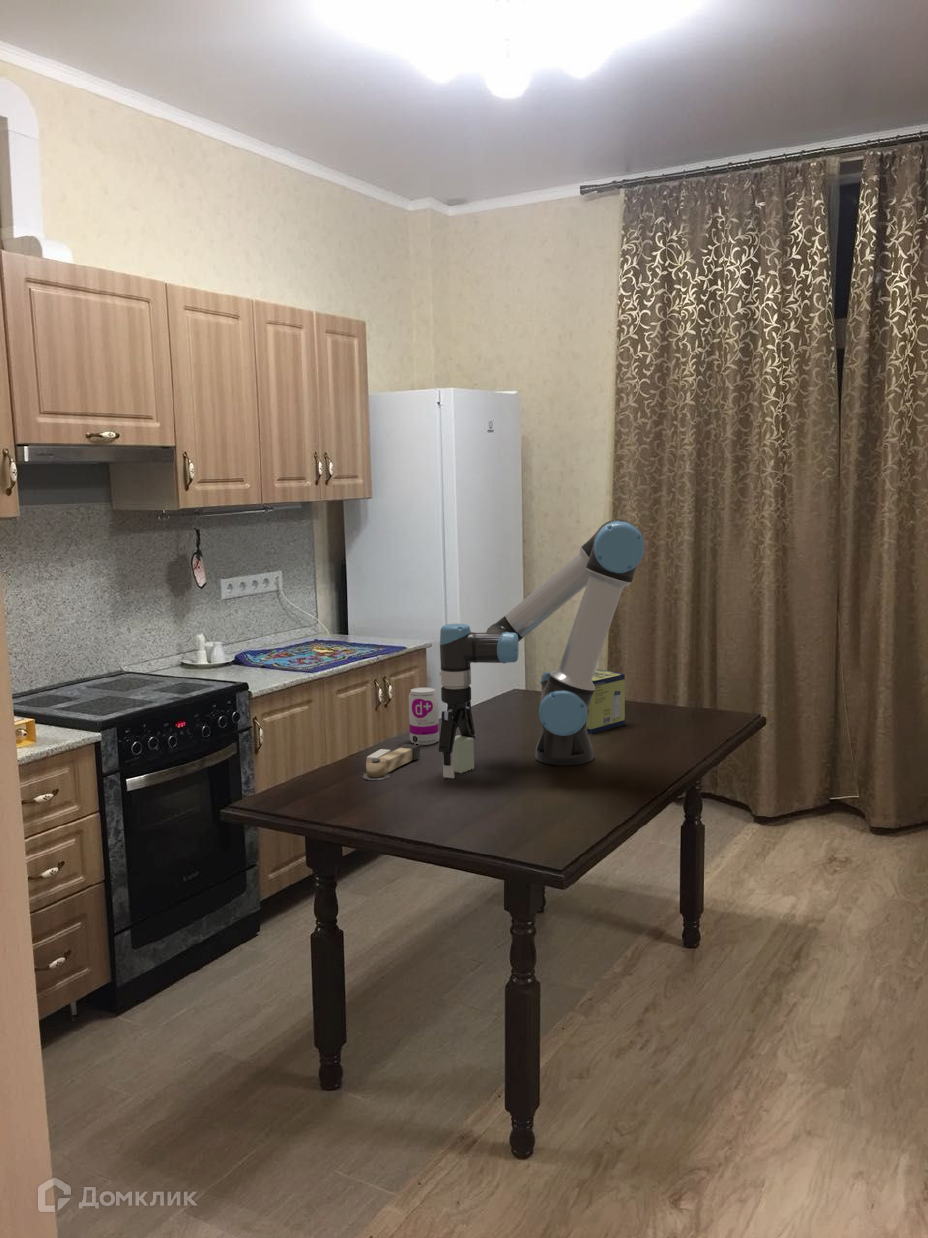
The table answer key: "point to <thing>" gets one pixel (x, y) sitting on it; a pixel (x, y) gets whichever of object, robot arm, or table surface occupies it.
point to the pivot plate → (376, 777)
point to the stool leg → (392, 760)
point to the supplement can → (423, 716)
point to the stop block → (378, 754)
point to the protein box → (606, 702)
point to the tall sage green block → (463, 753)
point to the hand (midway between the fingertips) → (457, 771)
